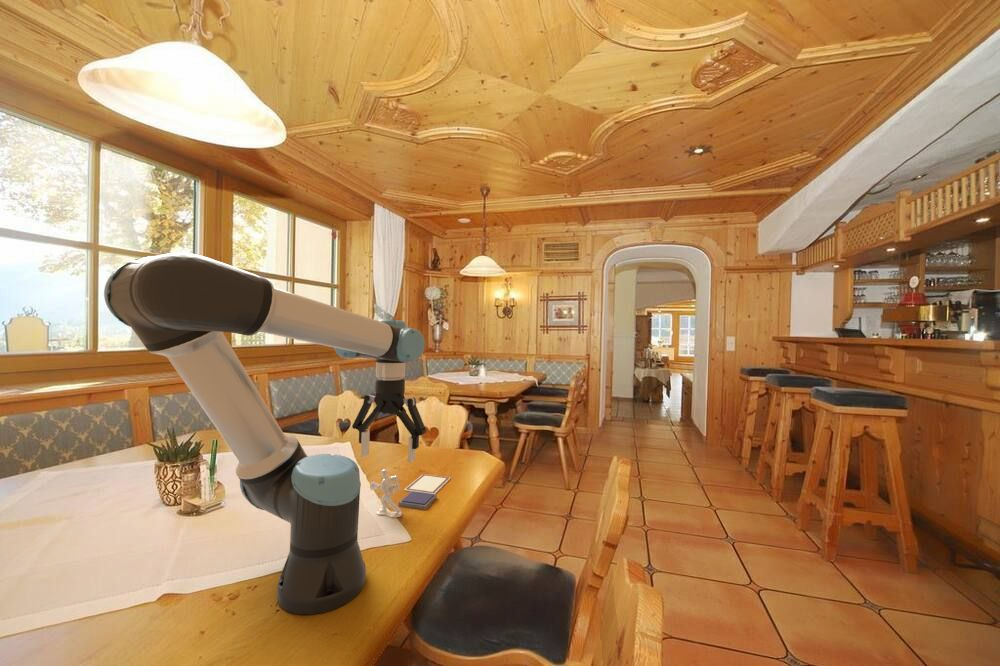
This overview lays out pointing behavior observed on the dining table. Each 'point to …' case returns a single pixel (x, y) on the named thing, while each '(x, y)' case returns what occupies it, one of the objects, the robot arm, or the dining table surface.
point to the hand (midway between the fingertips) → (387, 458)
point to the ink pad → (417, 500)
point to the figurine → (387, 494)
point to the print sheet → (427, 484)
